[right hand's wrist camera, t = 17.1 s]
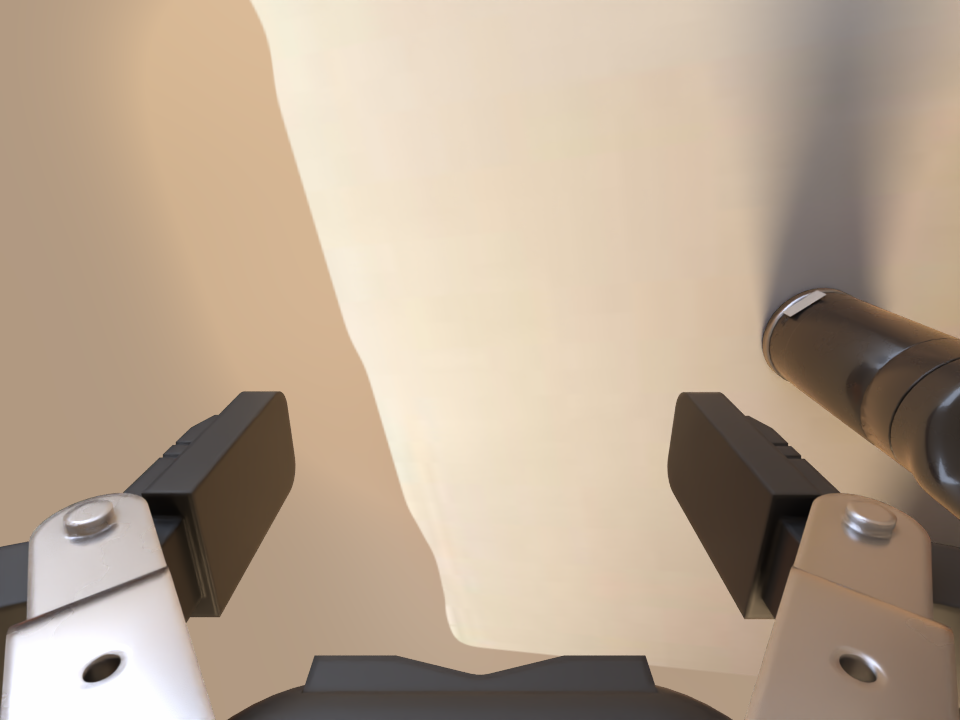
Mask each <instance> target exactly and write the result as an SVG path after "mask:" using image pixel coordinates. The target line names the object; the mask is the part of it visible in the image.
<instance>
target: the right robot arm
mask: <svg viewBox="0 0 960 720" xmlns="http://www.w3.org/2000/svg"><path fill="white" fill-rule="evenodd" d="M763 353H764V357H765V360H766V362H767V364H768V365H769V367H770V368H771V369H772V370H773V371H774V372H775V373H776V374H778V375H779V376H780V377H782V378H783V379H785V380H786V381H788V382H790V383H792V384H793V385H794V386H796V387H797V388H798V389H799V390H801V391H802V392H803V393H805V394H806V395H807V396H809V397H810V398H811V399H813V400H814V401H815V402H817V403H818V404H819V405H821V406H822V407H823V408H825V409H826V410H827V411H829V412H830V413H831V414H833V415H834V416H835V417H837V418H838V419H839V420H841V421H842V422H844V423H845V424H846V425H848V426H849V427H850V428H852V429H853V430H854V431H856V432H857V433H858V434H860V435H861V436H862V437H864V438H865V439H866V440H868V441H869V442H870V443H872V444H873V445H875V446H876V447H877V448H879V449H880V450H881V451H883V452H884V453H885V454H887V455H888V456H889V457H891V458H892V459H893V460H895V461H896V462H898V463H899V464H900V465H902V466H903V467H904V468H906V469H907V470H908V471H910V472H911V473H912V474H913V475H914V477H915V479H916V481H917V482H918V484H919V485H920V486H921V487H922V488H923V489H924V490H925V491H926V492H927V493H928V494H929V495H930V496H931V497H932V498H934V499H935V500H936V501H937V502H938V503H940V504H941V505H942V506H943V507H945V508H946V509H947V510H948V511H949V512H951V513H952V514H953V515H954V516H955V517H957V518H958V519H959V520H960V339H958V338H955V337H953V336H950V335H948V334H945V333H943V332H940V331H937V330H935V329H932V328H930V327H927V326H925V325H922V324H920V323H917V322H915V321H912V320H910V319H907V318H904V317H902V316H899V315H897V314H894V313H892V312H889V311H887V310H884V309H882V308H879V307H877V306H874V305H871V304H869V303H867V302H864V301H862V300H859V299H857V298H855V297H853V296H851V295H849V294H847V293H844V292H842V291H839V290H836V289H830V288H817V289H812V290H808V291H805V292H802V293H800V294H798V295H796V296H794V297H792V298H791V299H789V300H788V301H786V302H785V303H784V304H783V305H782V306H780V307H779V309H778V310H777V311H776V312H775V313H774V314H773V316H772V317H771V319H770V320H769V322H768V324H767V327H766V329H765V332H764V336H763ZM294 476H295V456H294V449H293V442H292V435H291V428H290V421H289V414H288V407H287V401H286V398H285V396H284V394H283V393H282V392H241V393H240V394H239V395H238V396H237V397H236V398H235V399H234V400H233V401H232V402H231V403H230V404H229V405H228V406H227V407H226V408H225V409H224V410H223V411H222V412H221V413H220V414H219V415H214V416H212V417H210V418H208V419H206V420H204V421H203V422H201V423H199V424H197V425H195V426H193V427H191V428H190V429H189V430H188V431H187V432H186V433H185V434H184V435H183V436H182V437H181V438H180V439H179V440H178V441H177V442H176V445H172V446H171V447H170V448H169V449H168V450H167V451H166V452H165V453H164V454H163V458H159V459H158V460H157V461H156V462H155V463H154V464H153V465H151V466H150V467H149V468H148V469H147V470H146V471H145V472H144V473H143V474H142V475H141V476H140V477H139V478H138V479H137V480H136V481H135V482H134V483H133V484H132V485H131V486H130V487H128V488H127V489H126V490H125V491H124V492H123V493H114V494H106V495H101V496H96V497H92V498H89V499H86V500H83V501H80V502H77V503H75V504H72V505H70V506H68V507H66V508H64V509H62V510H60V511H58V512H56V513H55V514H53V515H51V516H50V517H49V518H47V519H46V520H44V521H43V522H42V523H41V524H40V525H39V526H38V527H37V528H36V529H35V530H34V531H33V533H32V535H31V537H30V540H29V542H24V543H18V544H13V545H8V546H3V547H0V720H216V719H215V716H214V713H213V710H212V706H211V703H210V700H209V697H208V693H207V690H206V687H205V684H204V680H203V677H202V674H201V671H200V667H199V664H198V661H197V658H196V654H195V651H194V648H193V645H192V641H191V638H190V635H189V632H188V628H187V625H186V622H187V621H188V619H189V618H190V617H220V616H221V614H222V612H223V610H224V609H225V607H226V605H227V603H228V601H229V600H230V598H231V596H232V594H233V592H234V591H235V589H236V587H237V585H238V583H239V582H240V580H241V578H242V576H243V575H244V573H245V571H246V569H247V567H248V566H249V564H250V562H251V560H252V558H253V557H254V555H255V553H256V551H257V549H258V548H259V546H260V544H261V542H262V541H263V539H264V537H265V535H266V533H267V532H268V530H269V528H270V526H271V524H272V523H273V521H274V519H275V517H276V515H277V514H278V512H279V510H280V508H281V507H282V505H283V503H284V501H285V499H286V498H287V496H288V494H289V492H290V490H291V488H292V485H293V481H294ZM668 478H669V483H670V487H671V489H672V491H673V493H674V495H675V497H676V499H677V500H678V502H679V504H680V506H681V508H682V509H683V511H684V513H685V515H686V516H687V518H688V520H689V522H690V523H691V525H692V527H693V529H694V531H695V532H696V534H697V536H698V538H699V539H700V541H701V543H702V545H703V546H704V548H705V550H706V552H707V553H708V555H709V557H710V559H711V561H712V562H713V564H714V566H715V568H716V569H717V571H718V573H719V575H720V576H721V578H722V580H723V582H724V584H725V585H726V587H727V589H728V591H729V592H730V594H731V596H732V598H733V599H734V601H735V603H736V605H737V607H738V608H739V610H740V612H741V614H742V615H743V617H744V619H775V622H774V625H773V628H772V632H771V635H770V638H769V641H768V645H767V648H766V651H765V654H764V658H763V661H762V664H761V667H760V671H759V674H758V677H757V680H756V684H755V687H754V690H753V694H752V697H751V700H750V703H749V707H748V710H747V713H746V716H745V720H960V548H959V547H953V546H948V545H943V544H938V543H933V542H931V540H930V537H929V535H928V533H927V531H926V530H925V529H924V528H923V527H922V526H921V525H920V524H919V523H918V522H917V521H916V520H914V519H913V518H912V517H910V516H909V515H907V514H905V513H904V512H902V511H900V510H898V509H896V508H894V507H892V506H890V505H888V504H885V503H883V502H880V501H877V500H874V499H871V498H868V497H864V496H859V495H854V494H846V493H840V492H839V491H838V490H837V489H836V488H835V487H834V486H833V485H832V484H831V483H829V482H828V481H827V480H826V479H825V478H824V477H823V476H822V475H821V474H820V473H819V472H818V471H817V470H816V469H815V468H814V467H813V466H812V465H810V464H809V463H808V462H807V461H806V460H805V459H801V455H800V454H799V453H798V452H797V451H796V450H795V449H794V448H793V447H791V446H788V443H787V442H786V441H785V440H784V439H783V438H782V437H781V436H780V435H779V434H778V433H777V432H776V431H775V430H774V429H772V428H771V427H769V426H767V425H765V424H763V423H761V422H759V421H757V420H755V419H754V418H752V417H750V416H745V415H744V414H743V413H742V412H741V411H740V410H739V409H738V408H737V407H736V406H735V405H734V404H733V403H732V402H731V401H730V400H729V399H728V398H727V397H726V396H725V395H724V394H722V393H720V392H683V393H681V394H680V395H679V397H678V399H677V402H676V407H675V414H674V421H673V428H672V435H671V442H670V448H669V455H668ZM228 720H732V719H731V718H729V717H728V716H726V715H724V714H722V713H721V712H719V711H717V710H715V709H714V708H712V707H710V706H708V705H707V704H705V703H702V702H700V701H698V700H696V699H694V698H692V697H689V696H687V695H685V694H682V693H679V692H676V691H673V690H670V689H668V688H664V687H660V686H656V685H655V684H654V681H653V678H652V675H651V672H650V668H649V665H648V662H647V659H646V656H560V657H556V658H552V659H548V660H544V661H540V662H536V663H532V664H528V665H523V666H519V667H515V668H511V669H507V670H503V671H499V672H495V673H491V674H485V675H475V674H469V673H465V672H461V671H457V670H453V669H449V668H444V667H441V666H437V665H432V664H428V663H424V662H420V661H416V660H412V659H408V658H403V657H400V656H314V659H313V662H312V665H311V668H310V672H309V675H308V678H307V681H306V684H305V685H303V686H300V687H296V688H292V689H290V690H287V691H284V692H281V693H278V694H275V695H273V696H271V697H268V698H266V699H264V700H262V701H260V702H258V703H255V704H253V705H251V706H250V707H248V708H246V709H244V710H243V711H241V712H239V713H238V714H236V715H234V716H232V717H231V718H229V719H228Z"/></svg>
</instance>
